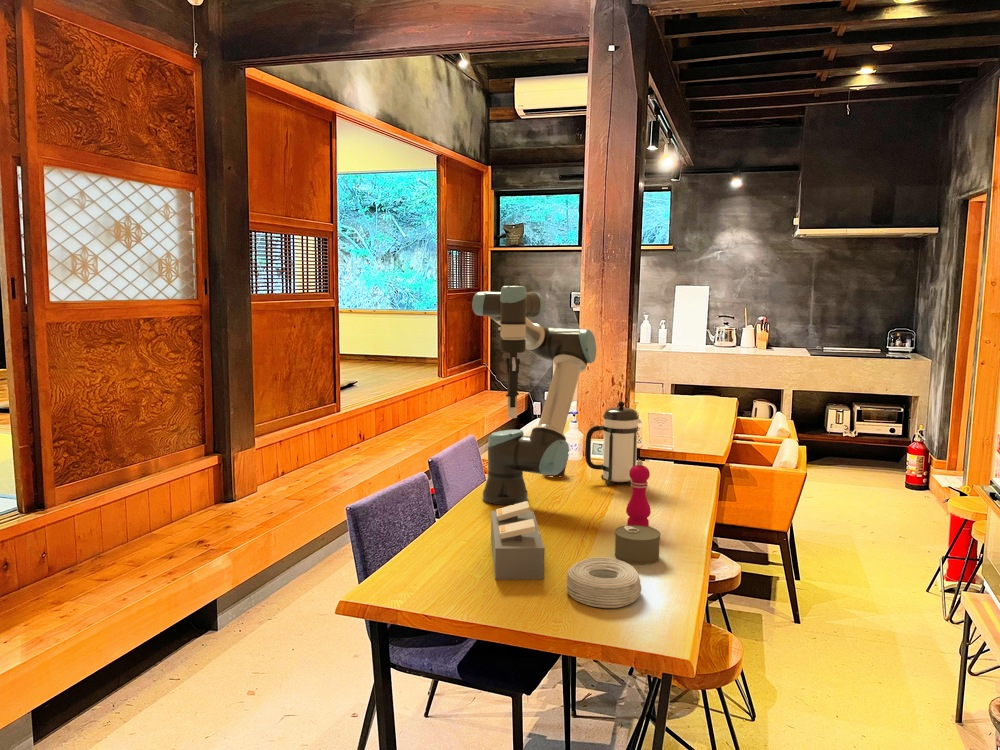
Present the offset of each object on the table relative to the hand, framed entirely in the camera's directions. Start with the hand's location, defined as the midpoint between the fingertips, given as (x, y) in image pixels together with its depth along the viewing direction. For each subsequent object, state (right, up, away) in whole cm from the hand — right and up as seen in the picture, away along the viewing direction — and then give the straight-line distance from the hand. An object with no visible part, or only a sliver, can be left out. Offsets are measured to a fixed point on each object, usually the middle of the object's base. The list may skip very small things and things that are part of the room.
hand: (512, 417), depth 222 cm
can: (+33, -36, -23) cm, 54 cm away
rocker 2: (+1, -27, -33) cm, 43 cm away
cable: (+21, -39, -47) cm, 65 cm away
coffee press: (+39, -27, +50) cm, 69 cm away
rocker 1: (0, -25, -18) cm, 31 cm away
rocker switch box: (0, -35, -21) cm, 41 cm away
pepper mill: (+38, -33, +3) cm, 50 cm away
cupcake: (+17, -25, +61) cm, 68 cm away
